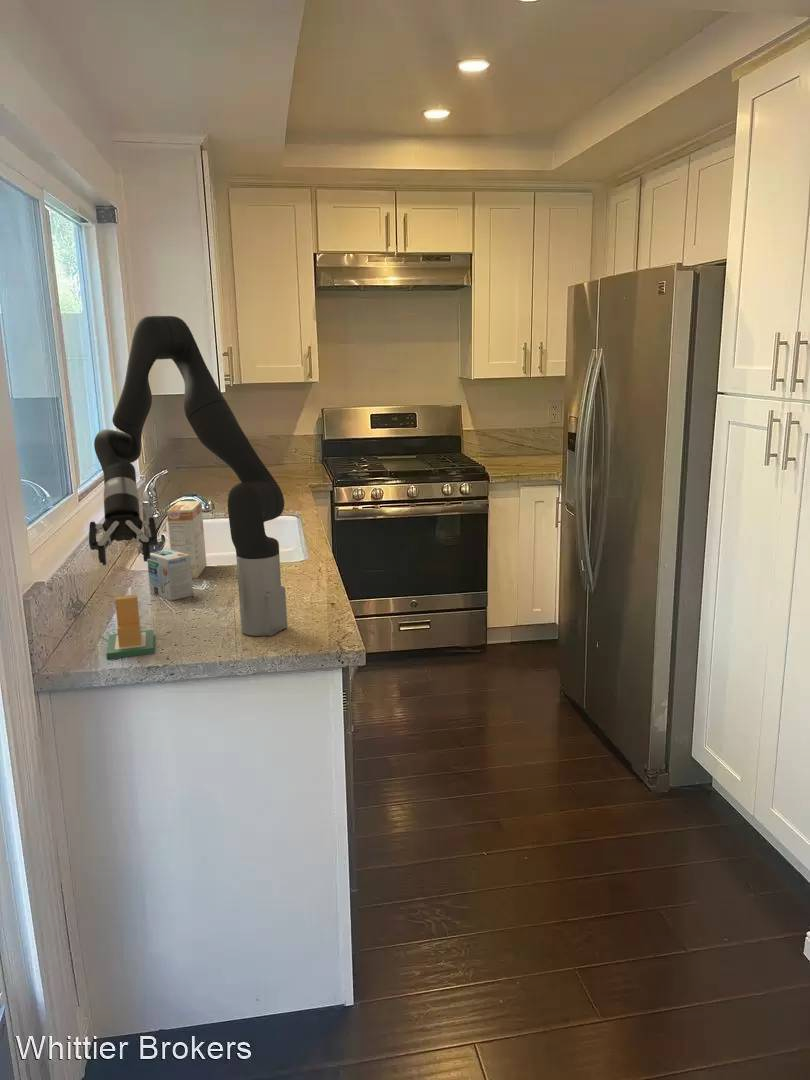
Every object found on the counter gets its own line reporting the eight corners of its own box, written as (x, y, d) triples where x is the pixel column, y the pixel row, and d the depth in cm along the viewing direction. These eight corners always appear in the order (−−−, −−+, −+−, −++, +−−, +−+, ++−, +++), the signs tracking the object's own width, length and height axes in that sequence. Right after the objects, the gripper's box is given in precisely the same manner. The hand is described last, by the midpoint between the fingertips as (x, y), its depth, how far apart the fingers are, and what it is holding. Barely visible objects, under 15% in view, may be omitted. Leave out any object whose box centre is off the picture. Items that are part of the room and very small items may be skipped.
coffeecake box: (183, 566, 228) (177, 501, 224) (207, 565, 229) (202, 500, 224) (171, 579, 214) (165, 510, 209) (197, 578, 214) (192, 509, 210)
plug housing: (121, 631, 168) (116, 589, 165) (141, 629, 169) (137, 587, 167) (119, 647, 158) (114, 603, 156) (140, 644, 159) (136, 600, 157)
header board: (109, 639, 166) (108, 623, 166) (153, 634, 169) (151, 618, 168) (107, 659, 155) (105, 641, 155) (153, 653, 158) (152, 635, 157)
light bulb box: (149, 593, 201) (145, 553, 199) (172, 587, 206) (169, 548, 203) (171, 601, 194) (167, 559, 192) (194, 595, 199) (191, 554, 196)
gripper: (86, 494, 172) (87, 555, 164) (153, 489, 176) (158, 549, 168) (90, 513, 178) (92, 573, 170) (154, 508, 182) (160, 567, 174)
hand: (125, 561), depth 169 cm, fingers open, 8 cm apart
